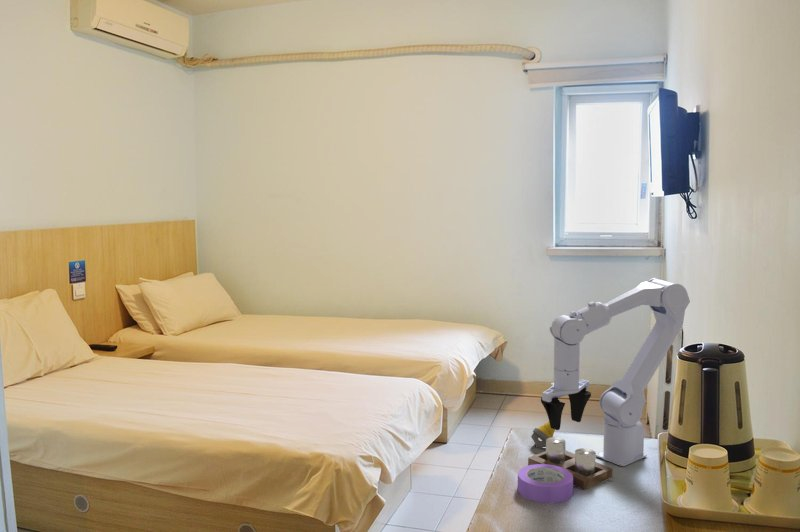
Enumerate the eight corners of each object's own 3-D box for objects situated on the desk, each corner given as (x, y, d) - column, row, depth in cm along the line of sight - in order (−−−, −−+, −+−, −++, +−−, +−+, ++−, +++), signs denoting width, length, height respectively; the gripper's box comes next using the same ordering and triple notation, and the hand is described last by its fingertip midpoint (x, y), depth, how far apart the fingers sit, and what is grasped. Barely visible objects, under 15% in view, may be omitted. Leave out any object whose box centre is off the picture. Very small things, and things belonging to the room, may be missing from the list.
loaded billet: (554, 460, 168) (554, 435, 167) (569, 466, 164) (569, 441, 163) (541, 465, 165) (542, 440, 164) (556, 471, 162) (556, 446, 161)
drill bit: (527, 443, 180) (551, 412, 182) (544, 456, 177) (568, 425, 179) (524, 437, 175) (549, 406, 177) (542, 450, 172) (566, 418, 174)
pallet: (556, 454, 171) (556, 446, 171) (612, 477, 158) (612, 468, 158) (528, 465, 165) (528, 457, 165) (583, 489, 152) (584, 480, 152)
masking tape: (522, 476, 160) (522, 460, 159) (575, 483, 156) (576, 467, 155) (512, 499, 149) (513, 482, 148) (569, 507, 145) (569, 489, 144)
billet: (583, 471, 161) (584, 446, 160) (599, 478, 158) (599, 452, 157) (570, 477, 159) (571, 451, 158) (586, 484, 155) (586, 457, 154)
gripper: (572, 358, 170) (571, 413, 172) (532, 370, 161) (531, 427, 163) (597, 365, 165) (595, 421, 167) (556, 377, 156) (555, 436, 158)
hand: (565, 424), depth 165 cm, fingers open, 7 cm apart
